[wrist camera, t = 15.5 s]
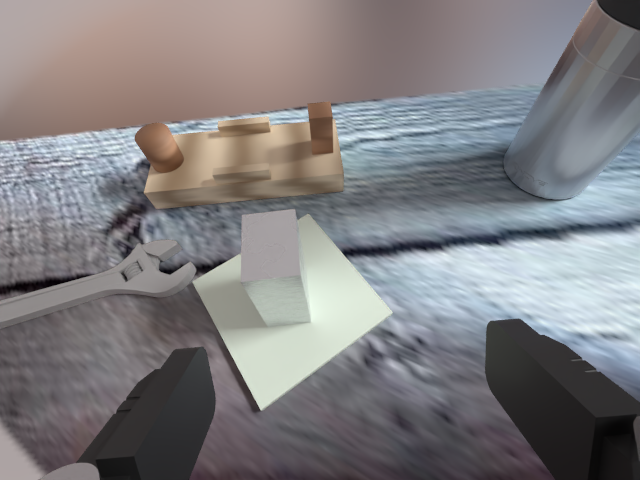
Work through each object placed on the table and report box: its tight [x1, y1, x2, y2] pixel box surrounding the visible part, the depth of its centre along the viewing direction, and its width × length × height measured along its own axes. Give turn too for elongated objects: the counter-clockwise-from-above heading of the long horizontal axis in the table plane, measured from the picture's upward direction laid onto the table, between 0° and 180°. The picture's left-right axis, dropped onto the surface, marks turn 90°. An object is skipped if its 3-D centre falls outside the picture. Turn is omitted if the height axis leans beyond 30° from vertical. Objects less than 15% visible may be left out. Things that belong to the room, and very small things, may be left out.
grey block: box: [241, 209, 311, 327], centre depth 28 cm, size 4×6×10 cm
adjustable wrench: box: [0, 240, 196, 329], centre depth 34 cm, size 25×6×2 cm, turn 103°
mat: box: [193, 213, 393, 411], centre depth 32 cm, size 14×14×1 cm
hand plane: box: [135, 102, 344, 209], centre depth 38 cm, size 22×9×8 cm, turn 95°
